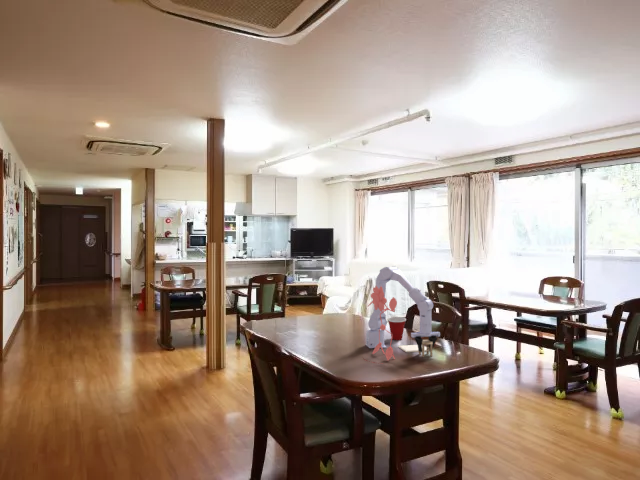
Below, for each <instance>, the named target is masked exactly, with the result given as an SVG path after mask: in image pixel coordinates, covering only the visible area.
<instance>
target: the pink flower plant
mask: <svg viewBox="0 0 640 480" xmlns="http://www.w3.org/2000/svg"><path fill="white" fill-rule="evenodd" d="M374 286H375V287H372V288H373V289H372V291H373V292H372V293H371V294H370V297H371V299H372V301H371V302H369V304H368V305H367V307H369V306H371V304H373V308H374V307H375V310H377V309H378V308H379V310H380V311H381V312H382V310H384V311H383V312H384V313H385V312H386V311H390V312H393V313H395V312H396V310H395V309H396V307H397V304H398V301H397V299H396V298H395V297H392V298H391V299H390V300H389V302H388V299H387V298H386V297H385V298H384V292H383V288H382V287H380V289H378V287H377V286H376V285H374ZM386 303H388V306H387V304H386ZM383 312H382V313H383ZM382 313H380V319H381V314H382ZM381 324H382V319H381ZM386 327H387V325H386V326H385V325H383V324H382V325H381V326H380V329H381V330H384V331H386V332H387V333H388V334H390V335H391V333H390V331H389V330H387V328H386ZM380 329H379V344H378V345H377V346H376V347H375V348H373V351H372V355H374V354H376V353H377V352H380V351H382V353H383V355H385V357H386V360H387V361H390V359H391V358H392V357H393V359H394V360H396V357H395V355H394V350H393V349H394V348H393V347H392V346H391V345H392V341H393V340H392V337H391V336H390V337H391V338H390V343H389V346H388V347H387V348H386V350H385V351H384V348H382V346H381V345H382V343H380ZM392 336H393V334H392ZM380 347H381V350H380ZM362 359H363V360H364V361H366V362H370V363H371V360H370V361H369V360H367V359H364V358H363V356H362ZM372 363H373V364H376V362H375V361H372ZM379 364H380V365H381V364H382V365H384V363H383V362H382V363H381V362H379Z"/></svg>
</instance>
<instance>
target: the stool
mask: <svg viewBox="0 0 640 480" xmlns="http://www.w3.org/2000/svg"><path fill="white" fill-rule="evenodd" d="M429 344H430V348H429ZM432 344H433V342H432V341H430V340H429V339H423V341H422V352H418V355H421V356H422V357H423V358H424V357H425V352H424V346H425V345H426V348H427V352H426V355H429V356H430V357H433V350H432ZM429 350H430V351H429Z"/></svg>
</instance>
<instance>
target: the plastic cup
mask: <svg viewBox="0 0 640 480" xmlns="http://www.w3.org/2000/svg"><path fill="white" fill-rule="evenodd" d="M386 321H387V323H388V326H389V332H390V333H391V334H390V333H389V334H390V337H392V341H402V340H403V335H404V330H405V324H406V321H407V318H405V317H401V316H390V317H388V318H386ZM392 334H393V336H392Z"/></svg>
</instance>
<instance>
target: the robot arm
mask: <svg viewBox="0 0 640 480" xmlns="http://www.w3.org/2000/svg"><path fill="white" fill-rule="evenodd" d="M390 281H395V282H398V283H399V284H400V285H401V286H402V287H403V288H404V289H405V290H406V291H408V297H410V299H411V300H412V301H413V302H414V303H415V305H417V309H418V311H419V331H417V332H416V331H415V332H410V337H411V338H412V339H413V338H414V340H415V343H416V345H418V350H419V352H421V353H422V341H423V340H424V339H423V338H424V337H426V338H427V337H428V340H430V341H432V342H433V344H432V351H433V350H434V347H435V343H436V341H438V338H439V337H441V332H440V331H432V325H433V324H432V323H433V322H432V321H433V319H432V314H433V313H432V309H433V308H434V303H433V301H432V299H430V298H428V297H427V296H425V295H424V293H422V289H420V288H418V287H415V286H413V285H412V283H411V282H410V281H409V280H408V278H407V277H406V276H405V275H404V274H403V271H402V270H400V269H399V267H397V266H396V265H392V266H384V267H382V268H380V270H379V273H378V275H377V276H376V278H375V286H377V287H378V289H380V287H382V288H383V292H384V298H386V289H387V288H386V287H387V283H388V282H390ZM383 311H385V310H382V312H383ZM382 312H381V311H380V310H379V308H378V309H377V310H375V307H374V306H373V311H372V313H371V314H370V316H369V320H368V322H367V324H368V326H367V327H369V329H368V330H366V332H365V345H366V347H368V349H375V347H376V346H377V345H378V344H379V329H380V326H381V325H382V324H383V325H385V326H386V327H387V325H388V324H387V323H388V320H387V317H386V316H387V315H386V313H385V312H383V313H382ZM380 313H382V314H381V319H382V324H381V319H380ZM380 343H382V345H381V346H382V348H383V349H384V348H385V349H387V348H388V347H387V345H385V330H381V329H380ZM380 348H381V347H380ZM429 348H430V344H429ZM419 352H418V353H419ZM429 352H430V350H429Z"/></svg>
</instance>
